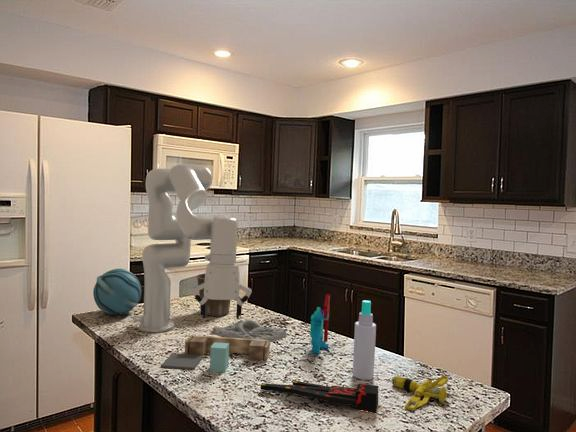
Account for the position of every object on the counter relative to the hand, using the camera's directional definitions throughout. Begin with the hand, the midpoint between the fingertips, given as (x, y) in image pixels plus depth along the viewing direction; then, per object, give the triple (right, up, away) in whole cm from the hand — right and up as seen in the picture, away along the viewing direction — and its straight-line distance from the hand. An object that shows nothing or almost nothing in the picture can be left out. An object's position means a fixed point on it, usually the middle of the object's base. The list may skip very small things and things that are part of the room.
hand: (221, 317), depth 130 cm
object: (-12, -12, +61) cm, 63 cm away
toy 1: (-50, -11, +52) cm, 73 cm away
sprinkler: (+54, -19, -12) cm, 58 cm away
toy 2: (+30, -16, +19) cm, 39 cm away
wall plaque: (+5, -15, +34) cm, 38 cm away
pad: (-12, -15, +5) cm, 20 cm away
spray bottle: (+41, -17, 0) cm, 45 cm away
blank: (-1, -15, +1) cm, 15 cm away
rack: (0, -15, +12) cm, 19 cm away
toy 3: (+27, -18, -15) cm, 36 cm away
